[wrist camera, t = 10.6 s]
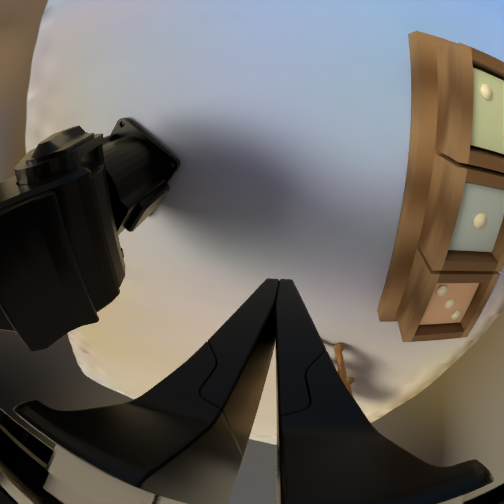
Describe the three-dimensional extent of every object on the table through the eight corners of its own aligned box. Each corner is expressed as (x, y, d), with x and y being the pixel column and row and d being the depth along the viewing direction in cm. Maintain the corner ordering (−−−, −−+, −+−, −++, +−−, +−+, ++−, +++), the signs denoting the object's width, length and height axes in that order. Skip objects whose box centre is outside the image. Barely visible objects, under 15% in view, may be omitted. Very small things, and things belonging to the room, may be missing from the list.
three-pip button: (453, 307, 20) (460, 323, 18) (410, 308, 21) (416, 326, 19) (472, 264, 18) (482, 279, 16) (426, 262, 18) (435, 279, 17)
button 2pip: (501, 150, 12) (518, 159, 10) (452, 137, 13) (468, 144, 11) (505, 86, 9) (523, 90, 8) (453, 66, 10) (471, 66, 8)
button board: (458, 308, 22) (473, 341, 18) (377, 310, 24) (385, 349, 20) (509, 71, 9) (546, 76, 6) (408, 34, 11) (437, 22, 7)
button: (480, 238, 16) (493, 253, 14) (434, 235, 17) (445, 251, 15) (495, 181, 14) (511, 192, 12) (447, 171, 14) (462, 182, 13)
